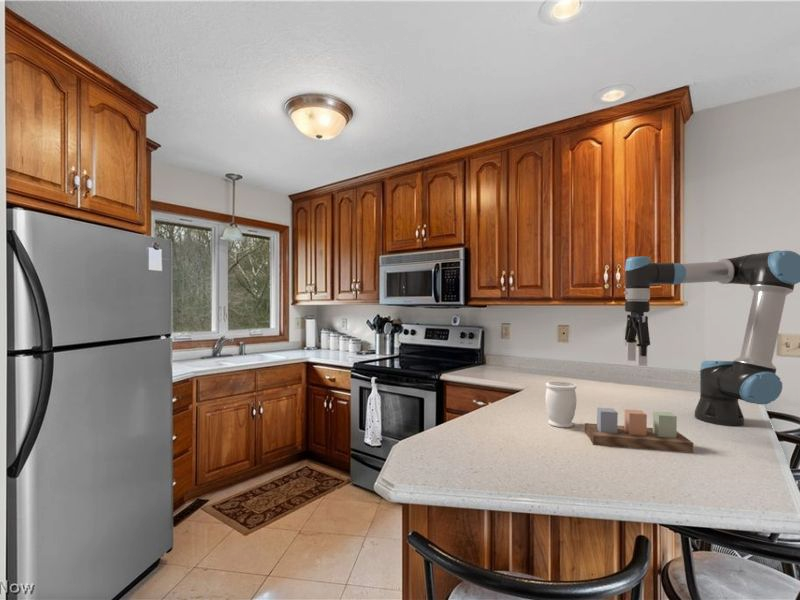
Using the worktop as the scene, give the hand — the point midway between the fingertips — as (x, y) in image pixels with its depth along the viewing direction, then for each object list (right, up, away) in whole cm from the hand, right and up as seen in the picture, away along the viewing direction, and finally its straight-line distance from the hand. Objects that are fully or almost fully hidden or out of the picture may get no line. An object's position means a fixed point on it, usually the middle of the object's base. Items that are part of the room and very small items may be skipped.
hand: (636, 362), depth 145 cm
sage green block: (+2, -22, -13) cm, 25 cm away
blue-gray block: (-15, -22, -9) cm, 28 cm away
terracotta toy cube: (-7, -22, -11) cm, 25 cm away
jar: (-24, -24, +6) cm, 35 cm away
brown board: (-7, -24, -11) cm, 27 cm away
